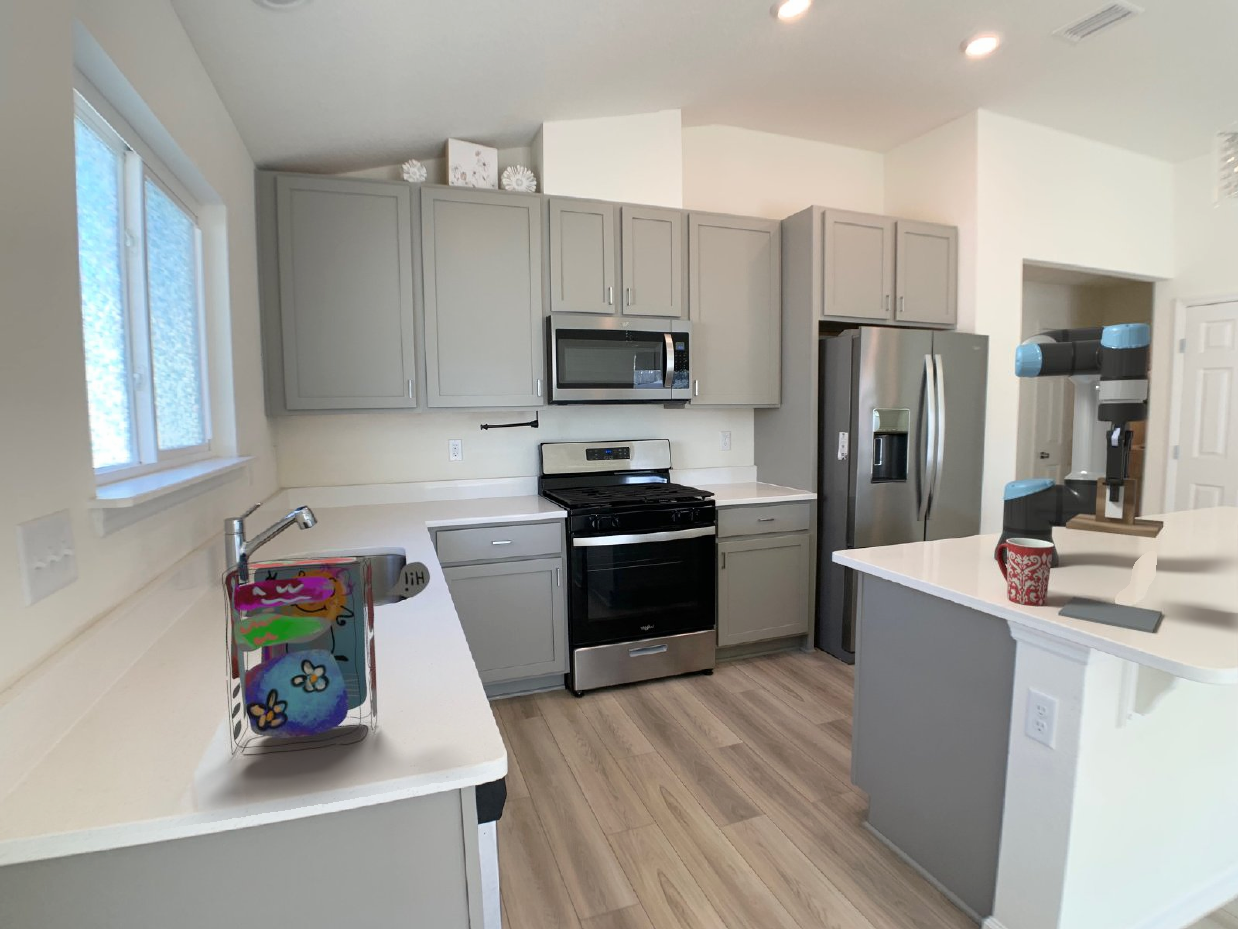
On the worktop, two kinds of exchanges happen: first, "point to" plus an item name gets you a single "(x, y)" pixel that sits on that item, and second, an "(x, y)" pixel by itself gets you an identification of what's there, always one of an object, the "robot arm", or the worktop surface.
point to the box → (305, 643)
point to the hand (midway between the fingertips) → (1115, 515)
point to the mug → (1026, 569)
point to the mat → (1111, 614)
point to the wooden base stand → (1116, 525)
